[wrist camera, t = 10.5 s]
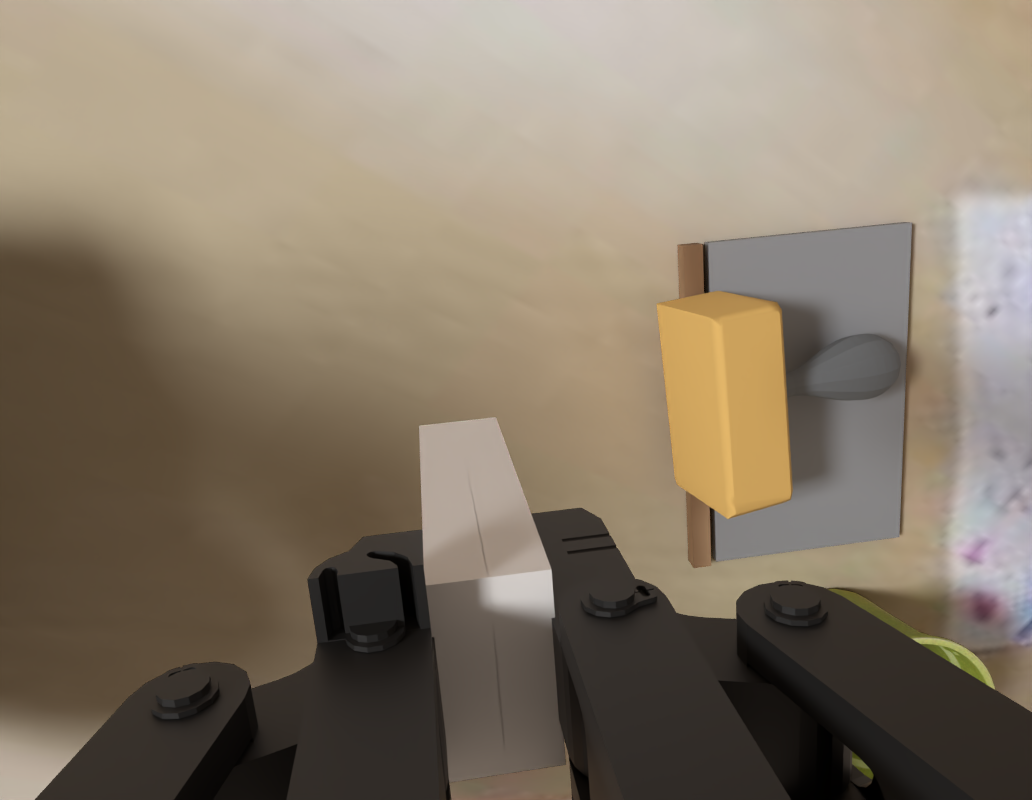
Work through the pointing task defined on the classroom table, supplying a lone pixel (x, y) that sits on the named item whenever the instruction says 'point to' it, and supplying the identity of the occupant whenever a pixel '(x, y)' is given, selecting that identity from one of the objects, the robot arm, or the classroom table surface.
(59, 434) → the classroom table surface
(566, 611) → the robot arm
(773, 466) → the rubber stamp
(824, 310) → the mat
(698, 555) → the rail
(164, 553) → the classroom table surface
